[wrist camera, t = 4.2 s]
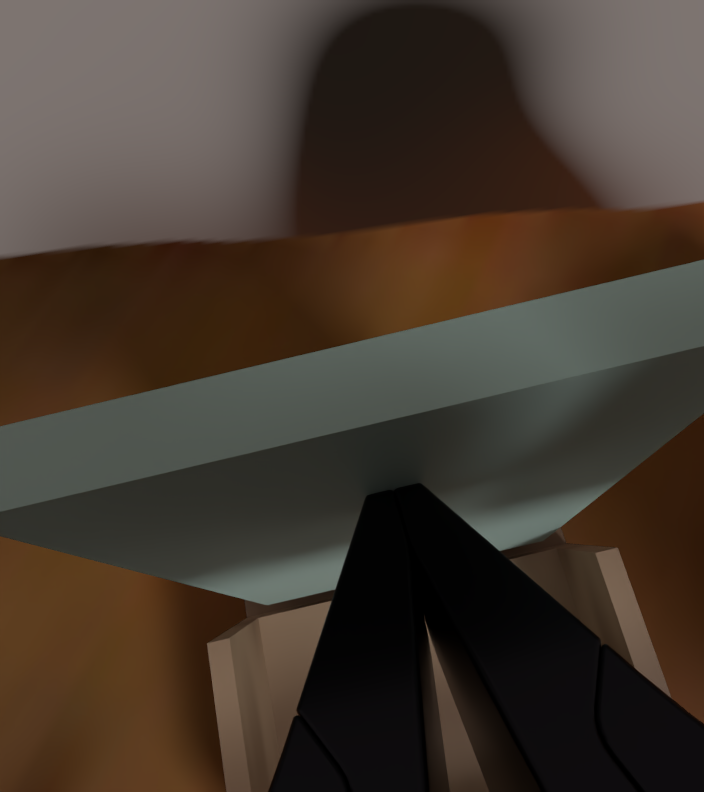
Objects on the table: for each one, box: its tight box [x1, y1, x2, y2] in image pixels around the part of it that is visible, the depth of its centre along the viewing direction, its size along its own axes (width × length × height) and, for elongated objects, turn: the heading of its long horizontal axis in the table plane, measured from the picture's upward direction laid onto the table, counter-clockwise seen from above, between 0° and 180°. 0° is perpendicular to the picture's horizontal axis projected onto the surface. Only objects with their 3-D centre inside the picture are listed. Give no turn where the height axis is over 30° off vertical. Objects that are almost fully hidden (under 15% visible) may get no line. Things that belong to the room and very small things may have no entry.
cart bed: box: [207, 527, 671, 792], centre depth 14 cm, size 10×11×5 cm
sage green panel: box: [0, 260, 704, 605], centre depth 11 cm, size 2×9×12 cm, turn 103°
